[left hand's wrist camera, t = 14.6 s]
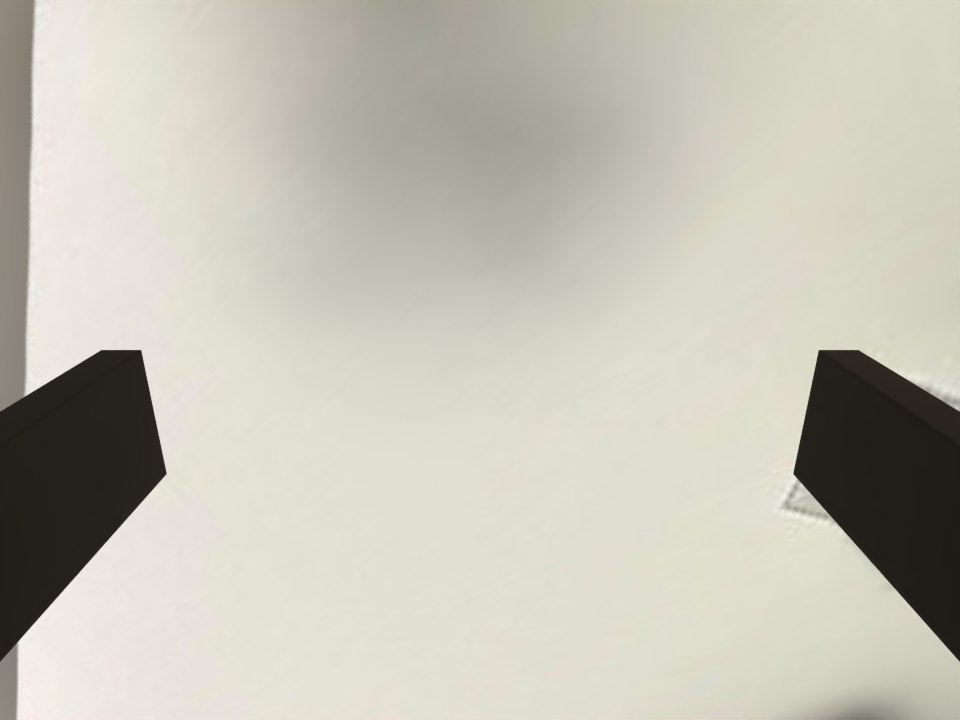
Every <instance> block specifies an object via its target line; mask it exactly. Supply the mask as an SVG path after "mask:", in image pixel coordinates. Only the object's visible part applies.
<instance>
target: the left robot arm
mask: <svg viewBox="0 0 960 720" xmlns="http://www.w3.org/2000/svg"><path fill="white" fill-rule="evenodd" d="M166 474H167V473H166V468H165V464H164V459H163V454H162V449H161V444H160V439H159V435H158V430H157V425H156V420H155V415H154V410H153V406H152V401H151V396H150V391H149V386H148V381H147V376H146V372H145V367H144V362H143V357H142V352H141V350H101V351H99V352H98V353H96V354H94V355H93V356H91V357H90V358H88V359H86V360H85V361H83V362H81V363H80V364H78V365H76V366H75V367H73V368H71V369H70V370H68V371H66V372H65V373H63V374H62V375H60V376H58V377H57V378H55V379H53V380H52V381H50V382H48V383H47V384H45V385H43V386H42V387H40V388H38V389H37V390H35V391H34V392H32V393H30V394H29V395H27V396H25V397H24V398H22V399H20V400H19V401H17V402H15V403H14V404H12V405H11V406H9V407H7V408H6V409H4V410H2V411H1V412H0V661H1V660H2V659H3V658H4V657H5V656H6V654H7V653H8V652H9V651H10V650H11V649H12V648H13V647H14V645H15V644H16V643H17V642H18V641H19V640H20V639H21V638H22V636H23V635H24V634H25V633H26V632H27V631H28V630H29V629H30V627H31V626H32V625H33V624H34V623H35V622H36V621H37V620H38V618H39V617H40V616H41V615H42V614H43V613H44V612H45V611H46V609H47V608H48V607H49V606H50V605H51V604H52V603H53V602H54V600H55V599H56V598H57V597H58V596H59V595H60V594H61V592H62V591H63V590H64V589H65V588H66V587H67V586H68V585H69V583H70V582H71V581H72V580H73V579H74V578H75V577H76V576H77V574H78V573H79V572H80V571H81V570H82V569H83V568H84V567H85V565H86V564H87V563H88V562H89V561H90V560H91V559H92V558H93V556H94V555H95V554H96V553H97V552H98V551H99V550H100V548H101V547H102V546H103V545H104V544H105V543H106V542H107V541H108V539H109V538H110V537H111V536H112V535H113V534H114V533H115V532H116V530H117V529H118V528H119V527H120V526H121V525H122V524H123V523H124V521H125V520H126V519H127V518H128V517H129V516H130V515H131V514H132V512H133V511H134V510H135V509H136V508H137V507H138V506H139V504H140V503H141V502H142V501H143V500H144V499H145V498H146V497H147V495H148V494H149V493H150V492H151V491H152V490H153V489H154V488H155V486H156V485H157V484H158V483H159V482H160V481H161V480H162V479H163V477H164V476H165V475H166ZM793 474H794V475H795V476H796V477H797V479H798V480H799V481H800V482H801V483H802V484H803V485H804V486H805V488H806V489H807V490H808V491H809V492H810V493H811V494H812V495H813V497H814V498H815V499H816V500H817V501H818V502H819V503H820V504H821V506H822V507H823V508H824V509H825V510H826V511H827V512H828V514H829V515H830V516H831V517H832V518H833V519H834V520H835V521H836V523H837V524H838V525H839V526H840V527H841V528H842V529H843V530H844V532H845V533H846V534H847V535H848V536H849V537H850V538H851V539H852V541H853V542H854V543H855V544H856V545H857V546H858V547H859V548H860V550H861V551H862V552H863V553H864V554H865V555H866V556H867V558H868V559H869V560H870V561H871V562H872V563H873V564H874V565H875V567H876V568H877V569H878V570H879V571H880V572H881V573H882V574H883V576H884V577H885V578H886V579H887V580H888V581H889V582H890V583H891V585H892V586H893V587H894V588H895V589H896V590H897V591H898V592H899V594H900V595H901V596H902V597H903V598H904V599H905V600H906V602H907V603H908V604H909V605H910V606H911V607H912V608H913V609H914V611H915V612H916V613H917V614H918V615H919V616H920V617H921V618H922V620H923V621H924V622H925V623H926V624H927V625H928V626H929V627H930V629H931V630H932V631H933V632H934V633H935V634H936V635H937V636H938V638H939V639H940V640H941V641H942V642H943V643H944V644H945V646H946V647H947V648H948V649H949V650H950V651H951V652H952V653H953V655H954V656H955V657H956V658H957V659H958V660H959V661H960V412H959V411H958V410H956V409H954V408H953V407H951V406H949V405H948V404H946V403H945V402H943V401H941V400H940V399H938V398H936V397H935V396H933V395H931V394H930V393H928V392H926V391H925V390H923V389H922V388H920V387H918V386H917V385H915V384H913V383H912V382H910V381H908V380H907V379H905V378H903V377H902V376H900V375H898V374H897V373H895V372H894V371H892V370H890V369H889V368H887V367H885V366H884V365H882V364H880V363H879V362H877V361H875V360H874V359H872V358H870V357H869V356H867V355H866V354H864V353H862V352H861V351H859V350H819V352H818V357H817V362H816V367H815V372H814V376H813V381H812V386H811V391H810V396H809V401H808V406H807V410H806V415H805V420H804V425H803V430H802V435H801V439H800V444H799V449H798V454H797V459H796V464H795V468H794V473H793Z"/></svg>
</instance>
